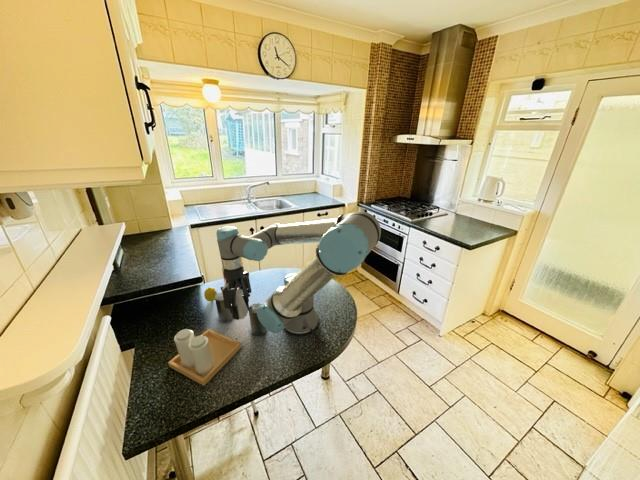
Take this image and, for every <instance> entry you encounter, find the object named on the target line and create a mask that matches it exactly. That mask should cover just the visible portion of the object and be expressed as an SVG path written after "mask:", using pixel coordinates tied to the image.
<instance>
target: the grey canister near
mask: <svg viewBox="0 0 640 480" xmlns="http://www.w3.org/2000/svg"><path fill="white" fill-rule="evenodd" d="M261 304H262V303H261V302H260V303H258V302H257V303H253V304H251V305H249V311H248V317H249V323H250V329H251V335H254V336H256V337H261V336H264V335H265V334H266V332H267V329H266V328H265V327H264V326H263V325H262V324H261V322H260V321H259V319H258V316H257V308H258V307H259V306H260V305H261Z"/></svg>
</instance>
